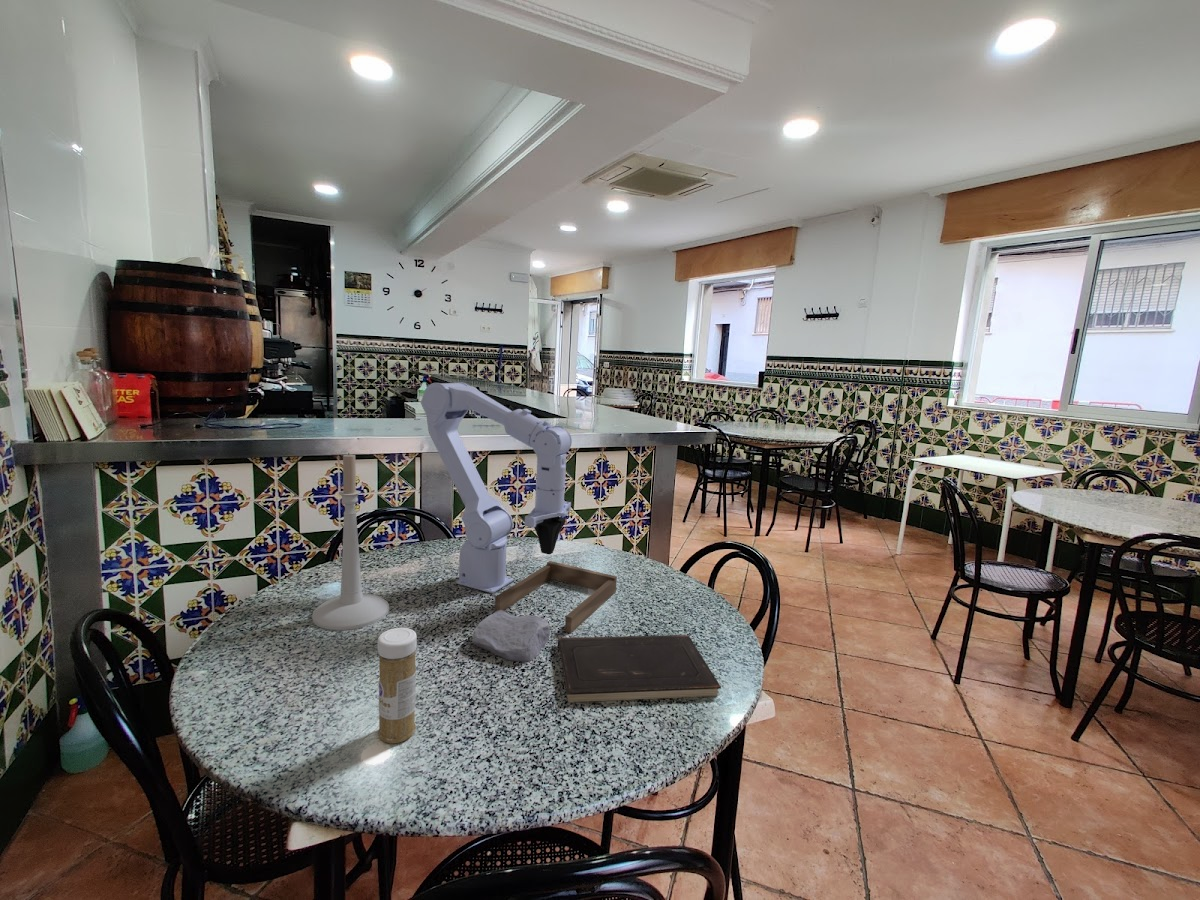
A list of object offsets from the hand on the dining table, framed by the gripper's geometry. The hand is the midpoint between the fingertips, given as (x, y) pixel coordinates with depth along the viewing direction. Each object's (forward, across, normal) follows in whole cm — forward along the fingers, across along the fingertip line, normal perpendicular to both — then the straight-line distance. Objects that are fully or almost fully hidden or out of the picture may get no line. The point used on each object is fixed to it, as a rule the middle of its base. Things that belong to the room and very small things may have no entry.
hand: (547, 552), depth 110 cm
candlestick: (+10, -26, +26) cm, 38 cm away
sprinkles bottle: (+10, -45, -6) cm, 46 cm away
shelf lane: (+9, -1, -4) cm, 10 cm away
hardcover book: (+10, -16, -26) cm, 32 cm away
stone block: (+10, -20, -5) cm, 23 cm away
